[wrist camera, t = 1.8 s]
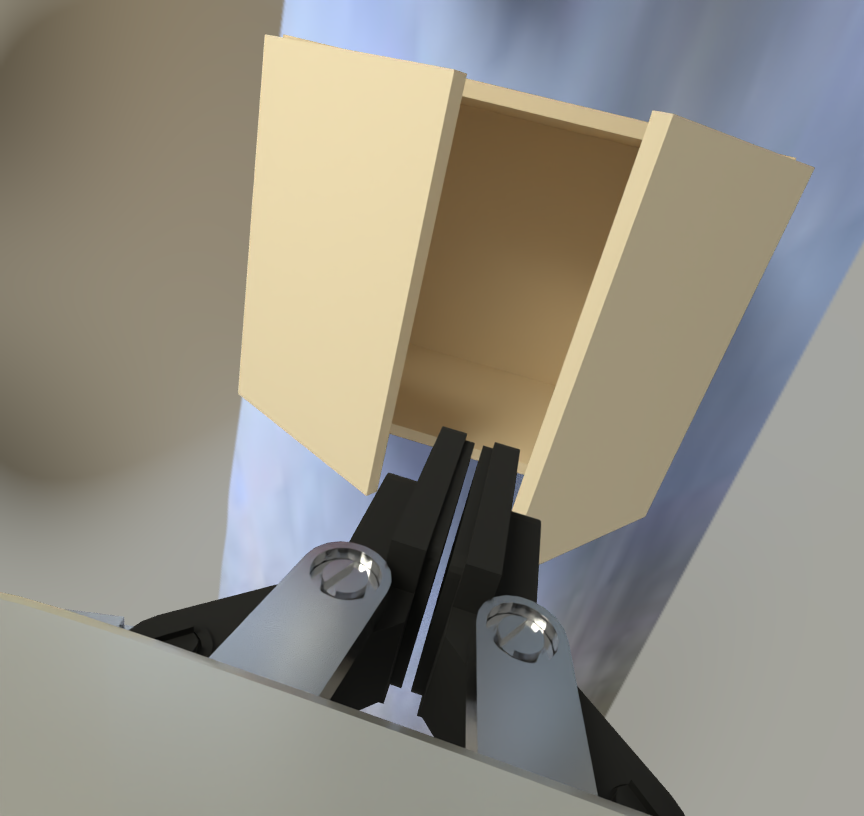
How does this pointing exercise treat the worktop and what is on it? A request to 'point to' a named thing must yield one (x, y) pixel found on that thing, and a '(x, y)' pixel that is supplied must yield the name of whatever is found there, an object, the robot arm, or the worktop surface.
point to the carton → (510, 263)
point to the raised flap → (655, 325)
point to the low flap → (341, 241)
